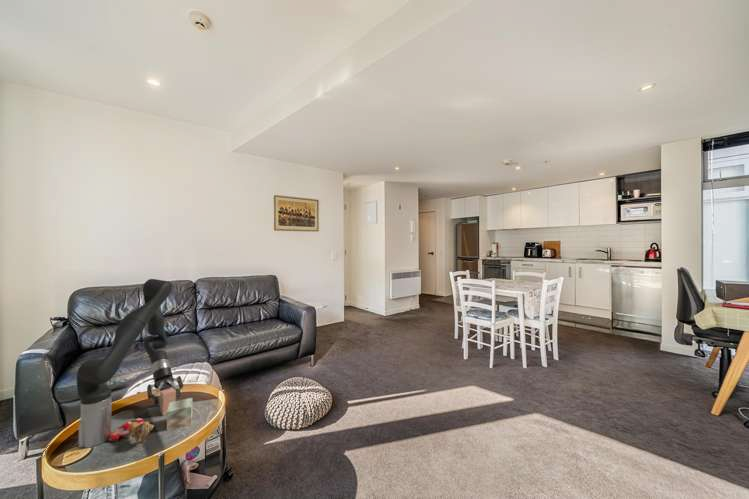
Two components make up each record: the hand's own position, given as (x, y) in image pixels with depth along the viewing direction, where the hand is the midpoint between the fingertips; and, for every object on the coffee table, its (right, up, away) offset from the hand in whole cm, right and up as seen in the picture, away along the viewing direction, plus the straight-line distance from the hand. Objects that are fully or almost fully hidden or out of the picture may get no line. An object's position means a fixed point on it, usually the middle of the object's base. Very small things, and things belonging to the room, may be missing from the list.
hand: (168, 401), depth 143 cm
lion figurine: (+3, -6, -21) cm, 22 cm away
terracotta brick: (-1, -5, 0) cm, 5 cm away
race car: (-7, -6, -16) cm, 18 cm away
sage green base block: (+11, -5, -8) cm, 15 cm away
